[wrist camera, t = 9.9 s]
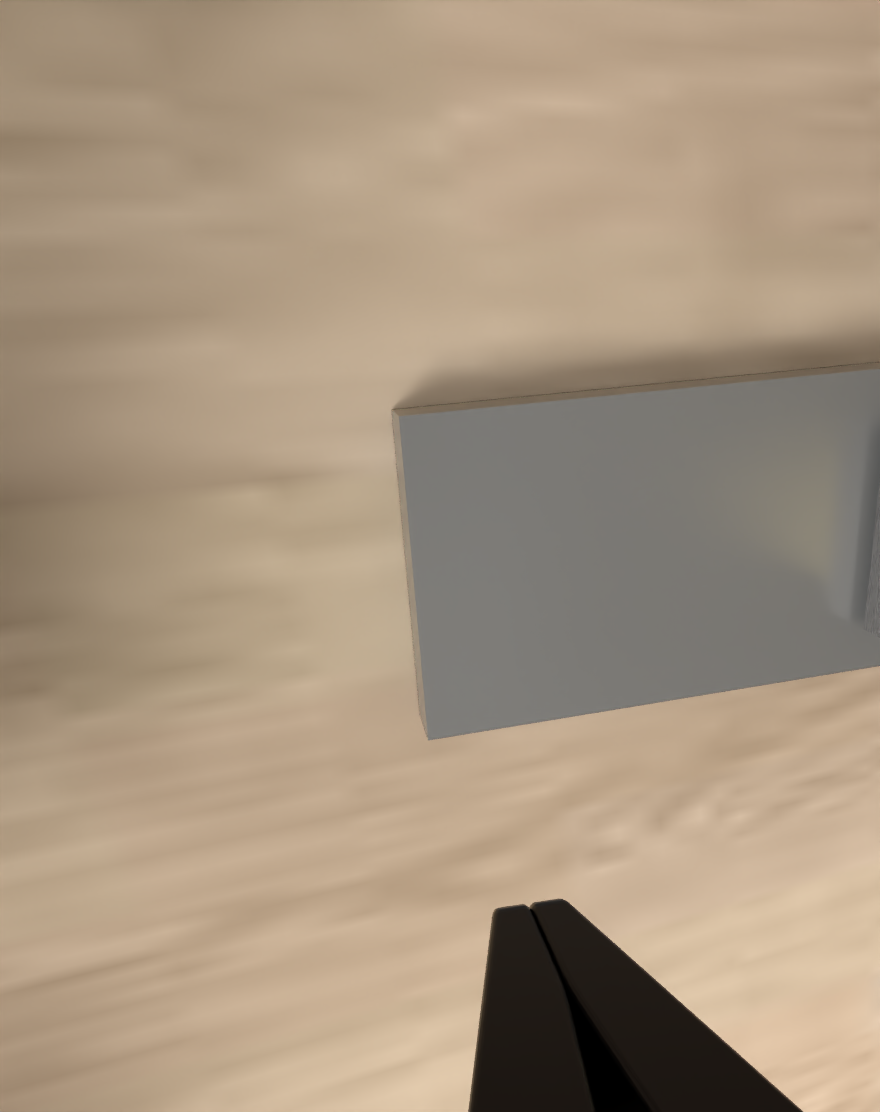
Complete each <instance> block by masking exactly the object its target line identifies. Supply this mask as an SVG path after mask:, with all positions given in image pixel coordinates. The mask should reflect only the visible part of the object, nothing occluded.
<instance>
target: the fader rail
mask: <svg viewBox="0 0 880 1112" xmlns="http://www.w3.org/2000/svg"><path fill="white" fill-rule="evenodd" d="M391 411H392V422H393V433H394V443H395V454H396V465H397V476H398V486H399V497H400V508H401V519H402V529H403V540H404V551H405V562H406V572H407V583H408V594H409V604H410V615H411V626H412V637H413V647H414V658H415V669H416V680H417V690H418V701H419V712H420V717H421V720H422V723H423V726H424V729H425V732H426V735H427V738H428V740H433V739H439V738H446V737H452V736H458V735H464V734H470V733H476V732H482V731H488V730H494V729H500V728H506V727H512V726H518V725H524V724H530V723H536V722H543V721H549V720H555V719H561V718H567V717H573V716H579V715H585V714H591V713H597V712H603V711H609V710H615V709H621V708H627V707H634V706H640V705H646V704H652V703H658V702H664V701H670V700H676V699H682V698H688V697H694V696H700V695H706V694H712V693H718V692H725V691H731V690H737V689H743V688H749V687H755V686H761V685H767V684H773V683H779V682H785V681H791V680H797V679H803V678H809V677H816V676H822V675H828V674H834V673H840V672H846V671H852V670H858V669H864V668H870V667H876V666H880V638H879V637H877V636H875V635H874V634H872V633H870V632H868V631H866V630H864V621H865V612H866V603H867V593H868V584H869V575H870V565H871V556H872V546H873V537H874V528H875V518H876V509H877V500H878V490H879V481H880V362H875V363H864V364H854V365H844V366H834V367H823V368H813V369H803V370H793V371H782V372H772V373H762V374H751V375H741V376H731V377H721V378H710V379H700V380H690V381H680V382H669V383H659V384H649V385H639V386H628V387H618V388H608V389H598V390H587V391H577V392H567V393H557V394H546V395H536V396H526V397H515V398H505V399H495V400H485V401H474V402H464V403H454V404H444V405H433V406H423V407H413V408H403V409H392V410H391Z"/></svg>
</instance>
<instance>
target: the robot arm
mask: <svg viewBox="0 0 880 1112" xmlns="http://www.w3.org/2000/svg"><path fill="white" fill-rule="evenodd" d="M468 1112H803V1111H802V1110H801V1109H800V1108H799V1107H797V1106H796V1105H795V1104H794V1103H793V1102H792V1101H791V1100H790V1099H788V1098H787V1097H786V1096H785V1095H784V1094H783V1093H782V1092H781V1091H779V1090H778V1089H777V1088H776V1087H775V1086H774V1085H773V1084H772V1083H770V1082H769V1081H768V1080H767V1079H766V1078H765V1077H764V1076H763V1075H762V1074H760V1073H759V1072H758V1071H757V1070H756V1069H755V1068H754V1067H753V1066H751V1065H750V1064H749V1063H748V1062H747V1061H746V1060H745V1059H744V1058H742V1057H741V1056H740V1055H739V1054H738V1053H737V1052H736V1051H735V1050H733V1049H732V1048H731V1047H730V1046H729V1045H728V1044H727V1043H726V1042H724V1041H723V1040H722V1039H721V1038H720V1037H719V1036H718V1035H717V1034H716V1033H714V1032H713V1031H712V1030H711V1029H710V1028H709V1027H708V1026H707V1025H705V1024H704V1023H703V1022H702V1021H701V1020H700V1019H699V1018H698V1017H696V1016H695V1015H694V1014H693V1013H692V1012H691V1011H690V1010H689V1009H687V1008H686V1007H685V1006H684V1005H683V1004H682V1003H681V1002H680V1001H678V1000H677V999H676V998H675V997H674V996H673V995H672V994H671V993H670V992H668V991H667V990H666V989H665V988H664V987H663V986H662V985H661V984H659V983H658V982H657V981H656V980H655V979H654V978H653V977H652V976H650V975H649V974H648V973H647V972H646V971H645V970H644V969H643V968H641V967H640V966H639V965H638V964H637V963H636V962H635V961H634V960H632V959H631V958H630V957H629V956H628V955H627V954H626V953H625V952H624V951H622V950H621V949H620V948H619V947H618V946H617V945H616V944H615V943H613V942H612V941H611V940H610V939H609V938H608V937H607V936H606V935H604V934H603V933H602V932H601V931H600V930H599V929H598V928H597V927H595V926H594V925H593V924H592V923H591V922H590V921H589V920H588V919H586V918H585V917H584V916H583V915H582V914H581V913H580V912H579V911H578V910H576V909H575V908H574V907H573V906H572V905H571V904H570V903H568V902H567V901H565V900H563V899H554V900H547V901H541V902H535V903H533V904H532V905H531V906H530V907H528V906H526V905H524V904H521V905H514V906H507V907H501V908H497V909H495V910H494V912H493V916H492V923H491V931H490V939H489V947H488V956H487V964H486V972H485V980H484V988H483V996H482V1004H481V1013H480V1021H479V1029H478V1037H477V1045H476V1053H475V1061H474V1070H473V1078H472V1086H471V1094H470V1102H469V1110H468Z"/></svg>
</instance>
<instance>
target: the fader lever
mask: <svg viewBox="0 0 880 1112" xmlns="http://www.w3.org/2000/svg"><path fill="white" fill-rule="evenodd" d="M864 630H866V631H868V632H870V633H872V634H874V635H875V636H877V637H879V638H880V481H879V490H878V500H877V509H876V518H875V528H874V537H873V546H872V556H871V565H870V575H869V584H868V593H867V603H866V612H865V621H864Z"/></svg>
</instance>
